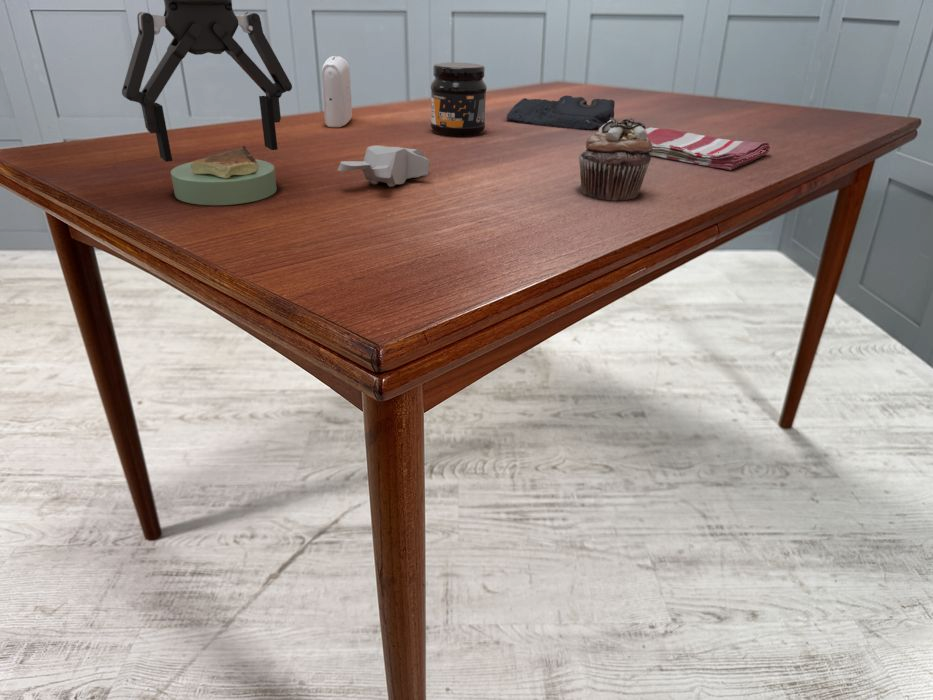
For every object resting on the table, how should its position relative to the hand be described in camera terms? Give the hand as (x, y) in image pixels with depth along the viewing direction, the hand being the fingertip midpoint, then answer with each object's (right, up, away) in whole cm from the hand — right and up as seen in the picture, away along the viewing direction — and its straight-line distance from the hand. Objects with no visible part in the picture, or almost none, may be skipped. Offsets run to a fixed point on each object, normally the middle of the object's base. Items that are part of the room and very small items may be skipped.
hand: (221, 153), depth 87 cm
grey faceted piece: (+21, -2, +8) cm, 23 cm away
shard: (0, -2, +1) cm, 2 cm away
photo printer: (+6, +20, +48) cm, 52 cm away
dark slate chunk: (+52, +24, +56) cm, 80 cm away
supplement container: (+30, +16, +42) cm, 55 cm away
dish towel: (+71, +9, +32) cm, 79 cm away
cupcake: (+52, -4, +7) cm, 53 cm away
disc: (0, -4, +2) cm, 5 cm away
